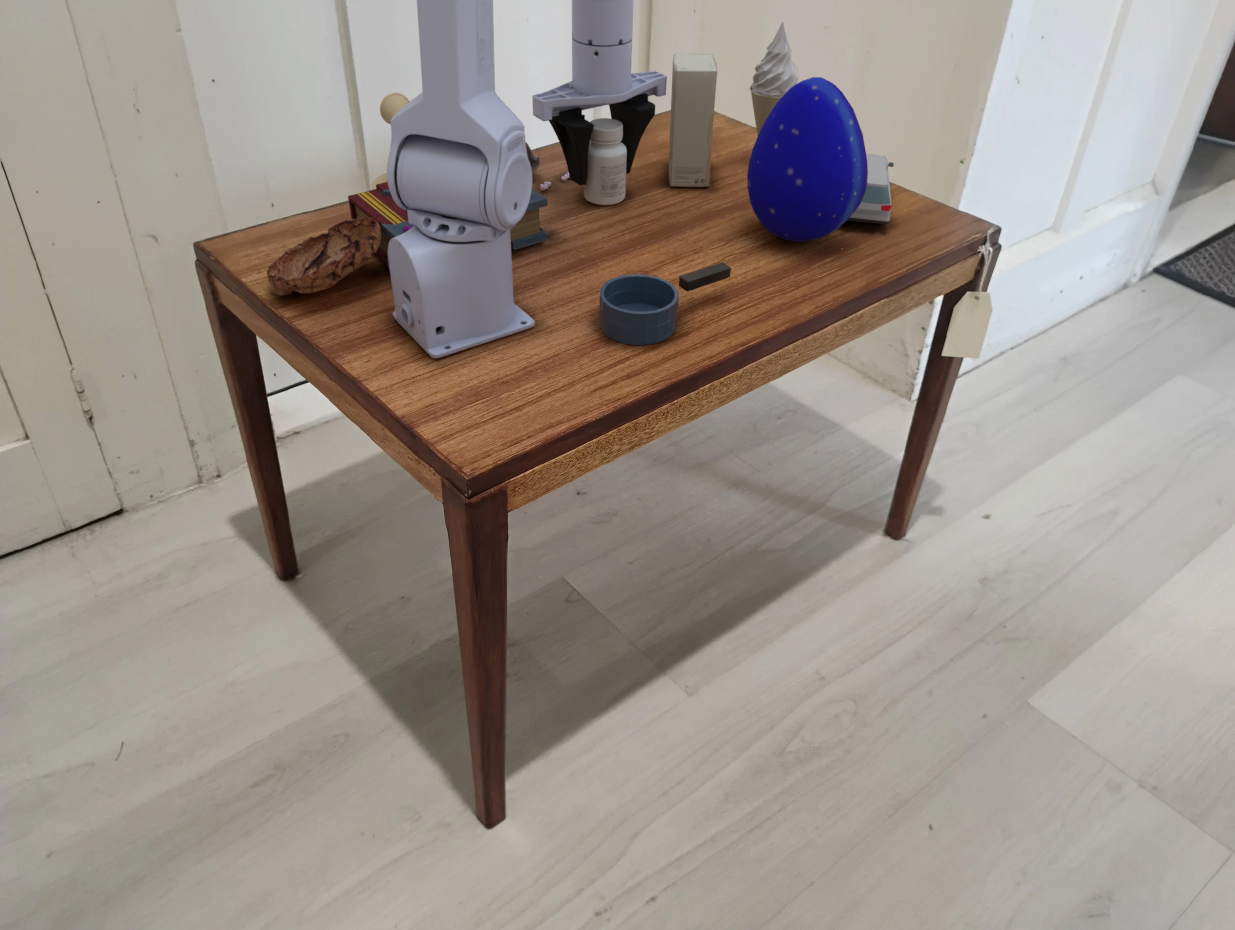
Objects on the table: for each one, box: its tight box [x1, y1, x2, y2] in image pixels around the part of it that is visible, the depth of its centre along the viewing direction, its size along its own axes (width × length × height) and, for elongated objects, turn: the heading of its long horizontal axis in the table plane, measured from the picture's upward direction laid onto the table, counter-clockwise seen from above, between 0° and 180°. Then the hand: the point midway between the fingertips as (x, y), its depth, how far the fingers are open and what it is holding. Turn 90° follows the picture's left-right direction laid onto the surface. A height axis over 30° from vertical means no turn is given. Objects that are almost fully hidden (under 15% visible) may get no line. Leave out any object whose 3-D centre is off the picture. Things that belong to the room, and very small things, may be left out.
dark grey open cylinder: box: [598, 273, 680, 346], centre depth 80 cm, size 6×6×3 cm
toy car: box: [847, 152, 895, 225], centre depth 99 cm, size 6×13×5 cm, turn 171°
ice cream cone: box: [749, 21, 799, 136], centre depth 104 cm, size 5×5×15 cm
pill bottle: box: [583, 117, 627, 206], centre depth 98 cm, size 4×4×8 cm
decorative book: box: [347, 182, 551, 268], centre depth 90 cm, size 11×16×5 cm
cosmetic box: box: [668, 52, 718, 188], centre depth 101 cm, size 6×4×12 cm
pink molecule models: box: [539, 171, 570, 192], centre depth 102 cm, size 15×2×1 cm, turn 141°
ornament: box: [746, 76, 868, 242], centre depth 90 cm, size 11×9×15 cm
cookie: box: [266, 216, 381, 296], centre depth 84 cm, size 10×11×3 cm
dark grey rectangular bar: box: [678, 261, 732, 293], centre depth 83 cm, size 5×1×1 cm, turn 125°
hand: (600, 176), depth 99 cm, fingers open, 5 cm apart
